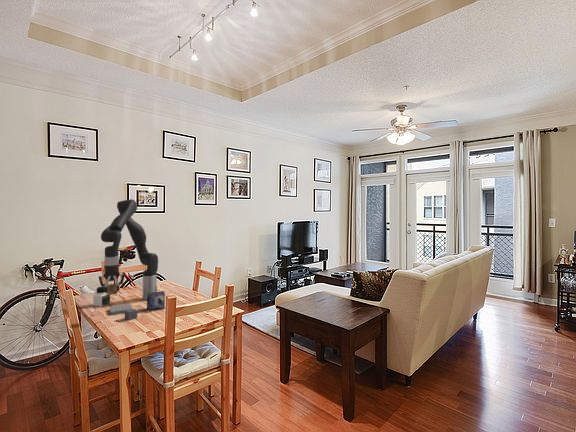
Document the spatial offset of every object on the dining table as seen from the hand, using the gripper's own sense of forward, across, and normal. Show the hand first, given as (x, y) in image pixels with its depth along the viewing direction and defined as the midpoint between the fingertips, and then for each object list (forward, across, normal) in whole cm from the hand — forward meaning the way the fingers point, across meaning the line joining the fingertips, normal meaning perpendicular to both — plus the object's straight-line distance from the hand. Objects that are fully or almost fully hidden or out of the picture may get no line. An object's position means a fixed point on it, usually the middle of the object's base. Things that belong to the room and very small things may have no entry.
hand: (111, 292), depth 188 cm
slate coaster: (+16, -6, -13) cm, 21 cm away
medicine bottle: (+16, +4, -33) cm, 37 cm away
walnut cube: (+1, 0, 0) cm, 1 cm away
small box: (+17, -26, -7) cm, 31 cm away
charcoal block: (+16, -10, +5) cm, 19 cm away
